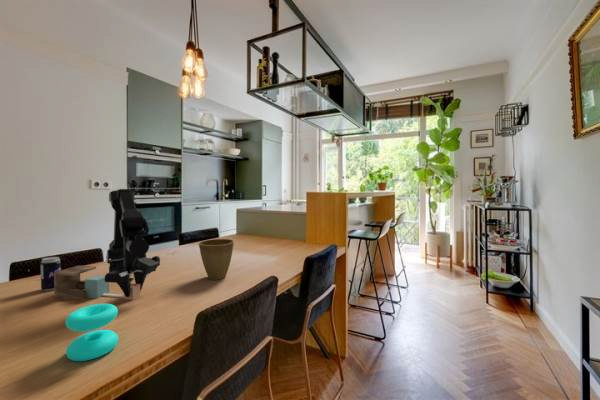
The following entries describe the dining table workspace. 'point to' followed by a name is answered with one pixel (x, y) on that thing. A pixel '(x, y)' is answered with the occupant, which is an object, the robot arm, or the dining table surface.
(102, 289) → the tethered block
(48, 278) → the beverage can
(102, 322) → the donuts
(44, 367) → the dining table surface
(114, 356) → the dining table surface
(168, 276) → the dining table surface
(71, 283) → the shelf lane
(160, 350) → the dining table surface
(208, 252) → the plant pot
